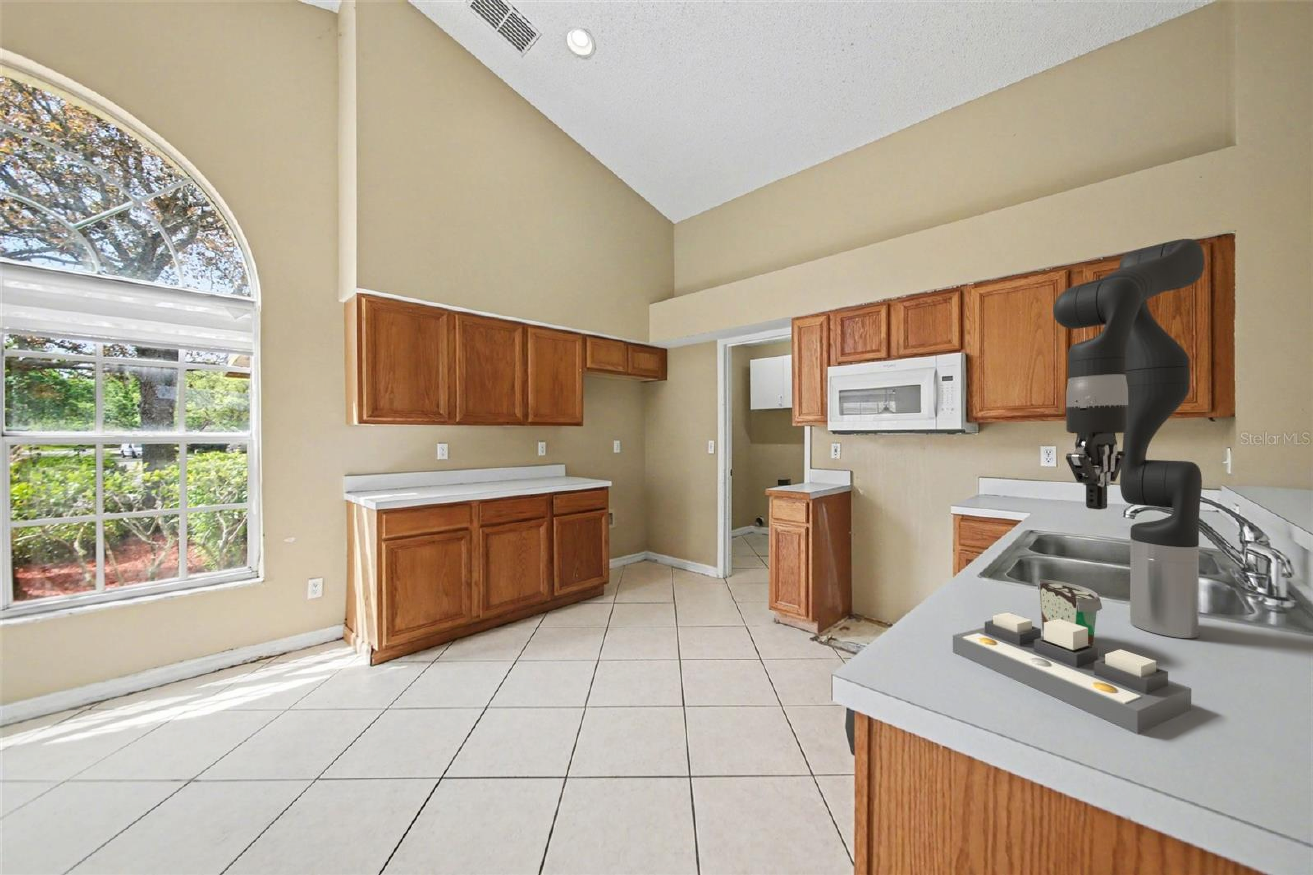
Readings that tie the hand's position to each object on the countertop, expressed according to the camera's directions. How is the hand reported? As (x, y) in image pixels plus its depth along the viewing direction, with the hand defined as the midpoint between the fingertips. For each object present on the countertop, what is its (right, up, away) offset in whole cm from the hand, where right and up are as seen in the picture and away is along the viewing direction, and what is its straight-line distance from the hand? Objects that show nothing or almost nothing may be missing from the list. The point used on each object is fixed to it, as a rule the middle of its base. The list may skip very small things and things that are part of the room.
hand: (1096, 508), depth 79 cm
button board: (-9, -26, -3) cm, 28 cm away
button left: (-10, -23, +5) cm, 26 cm away
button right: (-4, -23, -10) cm, 25 cm away
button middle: (-7, -21, -2) cm, 23 cm away
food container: (+4, -26, +9) cm, 28 cm away
